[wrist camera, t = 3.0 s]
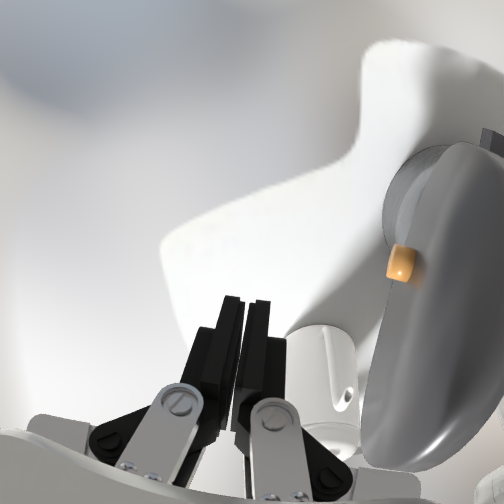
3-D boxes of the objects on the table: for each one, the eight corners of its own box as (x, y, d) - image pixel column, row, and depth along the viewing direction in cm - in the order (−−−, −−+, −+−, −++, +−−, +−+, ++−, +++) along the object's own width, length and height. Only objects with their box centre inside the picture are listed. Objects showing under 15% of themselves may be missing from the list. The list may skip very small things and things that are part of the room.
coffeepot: (373, 273, 34) (420, 405, 17) (337, 396, 45) (342, 495, 29) (283, 269, 35) (276, 410, 18) (273, 395, 47) (264, 495, 30)
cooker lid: (613, 211, 2) (535, 157, 3) (364, 513, 10) (314, 504, 11) (452, 140, 16) (414, 128, 17) (389, 330, 24) (360, 322, 25)
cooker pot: (509, 147, 24) (568, 172, 14) (460, 294, 34) (495, 347, 24) (402, 105, 25) (456, 110, 15) (361, 282, 34) (381, 347, 25)
